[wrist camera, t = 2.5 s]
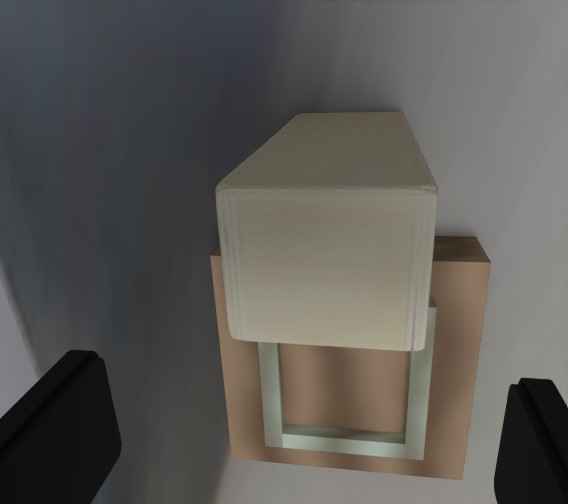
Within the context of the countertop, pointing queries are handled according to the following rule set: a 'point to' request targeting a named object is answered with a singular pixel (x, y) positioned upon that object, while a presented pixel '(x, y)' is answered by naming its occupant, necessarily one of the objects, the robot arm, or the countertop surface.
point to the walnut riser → (364, 385)
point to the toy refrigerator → (330, 235)
